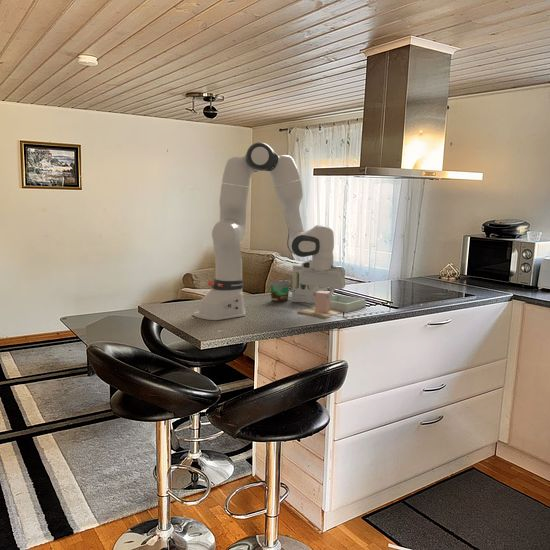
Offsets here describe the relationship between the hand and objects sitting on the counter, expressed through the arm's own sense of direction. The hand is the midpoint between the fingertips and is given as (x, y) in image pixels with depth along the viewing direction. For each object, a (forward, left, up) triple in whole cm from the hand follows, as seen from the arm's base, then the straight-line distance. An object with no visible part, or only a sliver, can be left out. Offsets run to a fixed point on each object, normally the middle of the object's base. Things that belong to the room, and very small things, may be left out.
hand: (321, 297), depth 213 cm
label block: (+2, +1, -6) cm, 7 cm away
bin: (+15, 0, -7) cm, 17 cm away
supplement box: (+17, +19, -7) cm, 27 cm away
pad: (0, 0, -7) cm, 7 cm away
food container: (+8, +28, -7) cm, 30 cm away
